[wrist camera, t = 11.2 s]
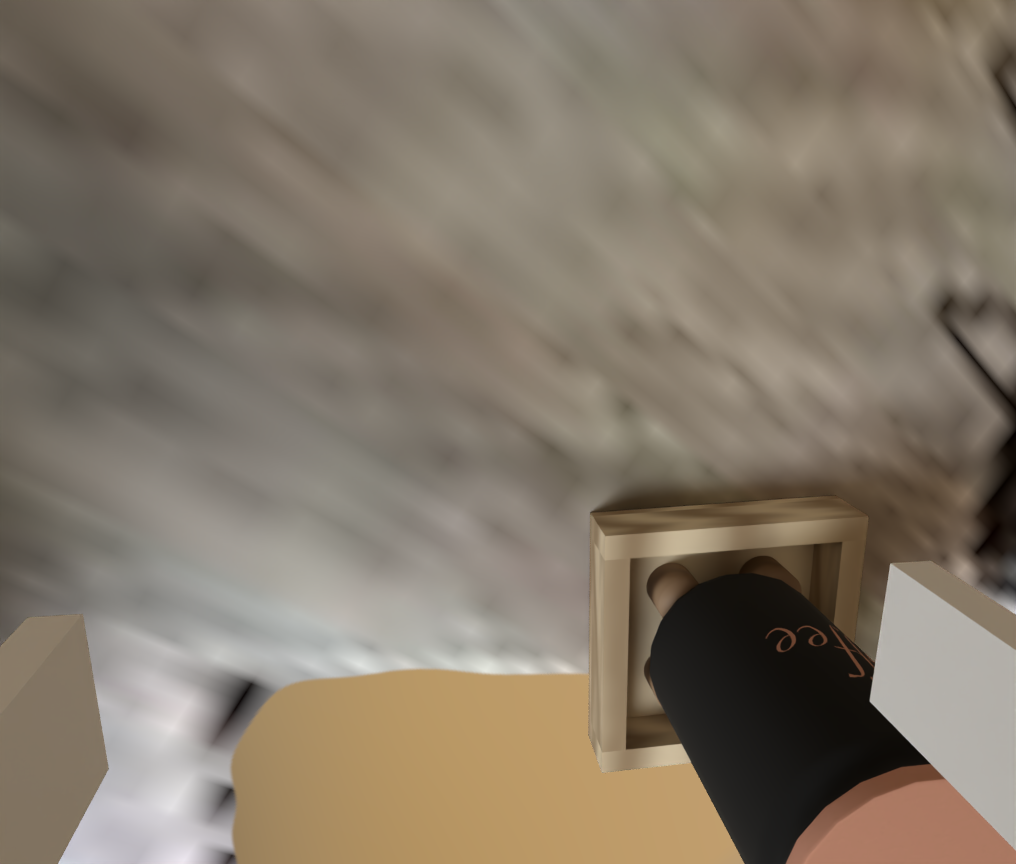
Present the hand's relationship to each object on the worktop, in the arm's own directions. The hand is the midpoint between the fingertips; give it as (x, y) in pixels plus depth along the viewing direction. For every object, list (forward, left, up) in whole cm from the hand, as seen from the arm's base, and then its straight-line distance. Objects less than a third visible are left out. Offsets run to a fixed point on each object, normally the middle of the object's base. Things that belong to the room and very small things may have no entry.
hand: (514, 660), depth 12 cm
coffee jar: (+17, -18, -28) cm, 38 cm away
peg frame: (+17, -18, -31) cm, 40 cm away
